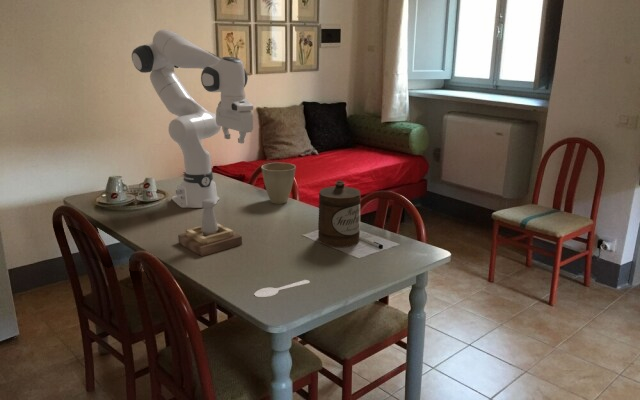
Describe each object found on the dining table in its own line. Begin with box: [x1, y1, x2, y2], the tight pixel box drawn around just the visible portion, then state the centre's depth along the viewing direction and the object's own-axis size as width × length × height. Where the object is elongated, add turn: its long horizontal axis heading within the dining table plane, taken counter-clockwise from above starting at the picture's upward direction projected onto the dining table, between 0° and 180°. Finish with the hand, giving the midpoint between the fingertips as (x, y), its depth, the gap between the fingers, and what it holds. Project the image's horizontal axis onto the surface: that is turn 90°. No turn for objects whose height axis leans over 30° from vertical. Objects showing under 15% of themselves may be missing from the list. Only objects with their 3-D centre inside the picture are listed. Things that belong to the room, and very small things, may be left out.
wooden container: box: [317, 180, 361, 248], centre depth 186 cm, size 15×15×22 cm
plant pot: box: [261, 162, 296, 205], centre depth 231 cm, size 15×15×16 cm
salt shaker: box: [200, 199, 218, 237], centre depth 182 cm, size 6×6×13 cm
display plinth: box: [177, 222, 243, 257], centre depth 184 cm, size 16×16×5 cm
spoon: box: [253, 279, 311, 298], centre depth 153 cm, size 5×18×1 cm, turn 123°
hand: (234, 141), depth 195 cm, fingers open, 8 cm apart
